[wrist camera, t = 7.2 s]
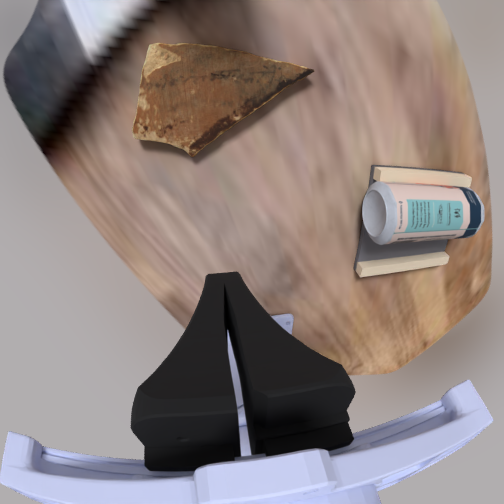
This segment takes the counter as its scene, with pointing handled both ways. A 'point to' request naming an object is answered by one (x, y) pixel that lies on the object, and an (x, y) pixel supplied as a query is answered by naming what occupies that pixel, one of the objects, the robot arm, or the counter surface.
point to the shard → (204, 92)
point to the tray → (412, 253)
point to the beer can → (420, 212)
